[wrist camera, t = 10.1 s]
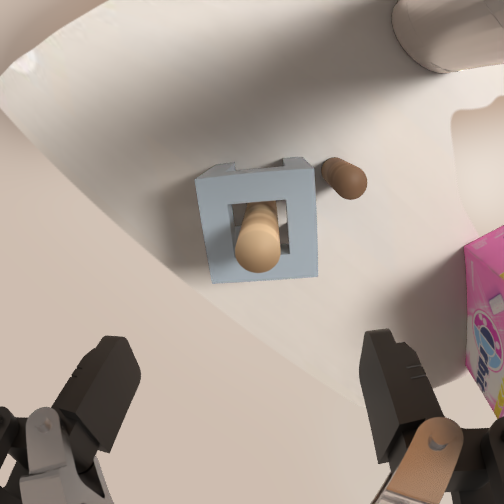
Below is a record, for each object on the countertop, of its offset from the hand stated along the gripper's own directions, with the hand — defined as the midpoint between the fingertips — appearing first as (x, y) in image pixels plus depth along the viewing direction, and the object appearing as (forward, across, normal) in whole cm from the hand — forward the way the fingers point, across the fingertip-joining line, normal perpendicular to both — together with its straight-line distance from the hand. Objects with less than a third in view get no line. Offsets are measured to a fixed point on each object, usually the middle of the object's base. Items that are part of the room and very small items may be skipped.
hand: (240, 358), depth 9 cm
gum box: (+21, -30, +16) cm, 40 cm away
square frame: (+21, 0, 0) cm, 21 cm away
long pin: (+21, 0, 0) cm, 21 cm away
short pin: (+21, -7, -2) cm, 22 cm away
